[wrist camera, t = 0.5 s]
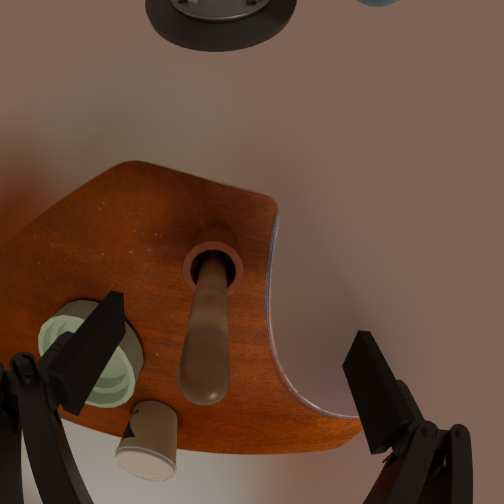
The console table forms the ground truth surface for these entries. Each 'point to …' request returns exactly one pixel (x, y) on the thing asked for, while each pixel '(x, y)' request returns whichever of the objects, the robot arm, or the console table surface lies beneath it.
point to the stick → (207, 336)
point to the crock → (215, 241)
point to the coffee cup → (149, 442)
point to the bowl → (119, 366)
